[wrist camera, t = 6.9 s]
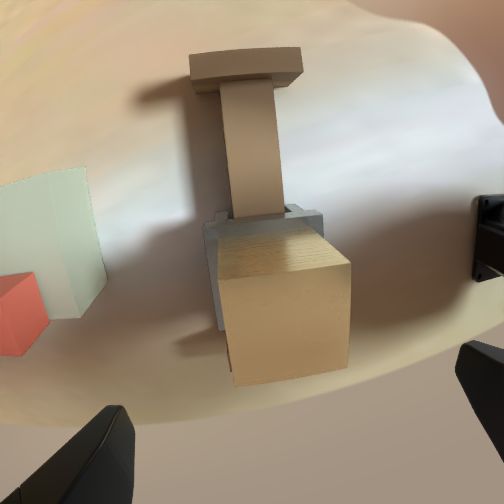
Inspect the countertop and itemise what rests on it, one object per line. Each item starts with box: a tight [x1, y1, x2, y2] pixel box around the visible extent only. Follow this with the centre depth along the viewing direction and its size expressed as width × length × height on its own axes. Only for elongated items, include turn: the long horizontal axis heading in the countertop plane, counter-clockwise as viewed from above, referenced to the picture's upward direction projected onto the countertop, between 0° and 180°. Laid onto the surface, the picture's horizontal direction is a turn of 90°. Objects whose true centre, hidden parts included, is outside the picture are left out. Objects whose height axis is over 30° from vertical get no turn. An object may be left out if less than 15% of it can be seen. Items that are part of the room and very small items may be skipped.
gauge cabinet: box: [0, 166, 108, 320], centre depth 14 cm, size 6×7×4 cm
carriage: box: [203, 204, 351, 387], centre depth 14 cm, size 5×5×8 cm
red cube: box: [0, 272, 50, 356], centre depth 11 cm, size 3×3×3 cm
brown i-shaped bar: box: [189, 47, 304, 372], centre depth 16 cm, size 15×5×3 cm, turn 6°
